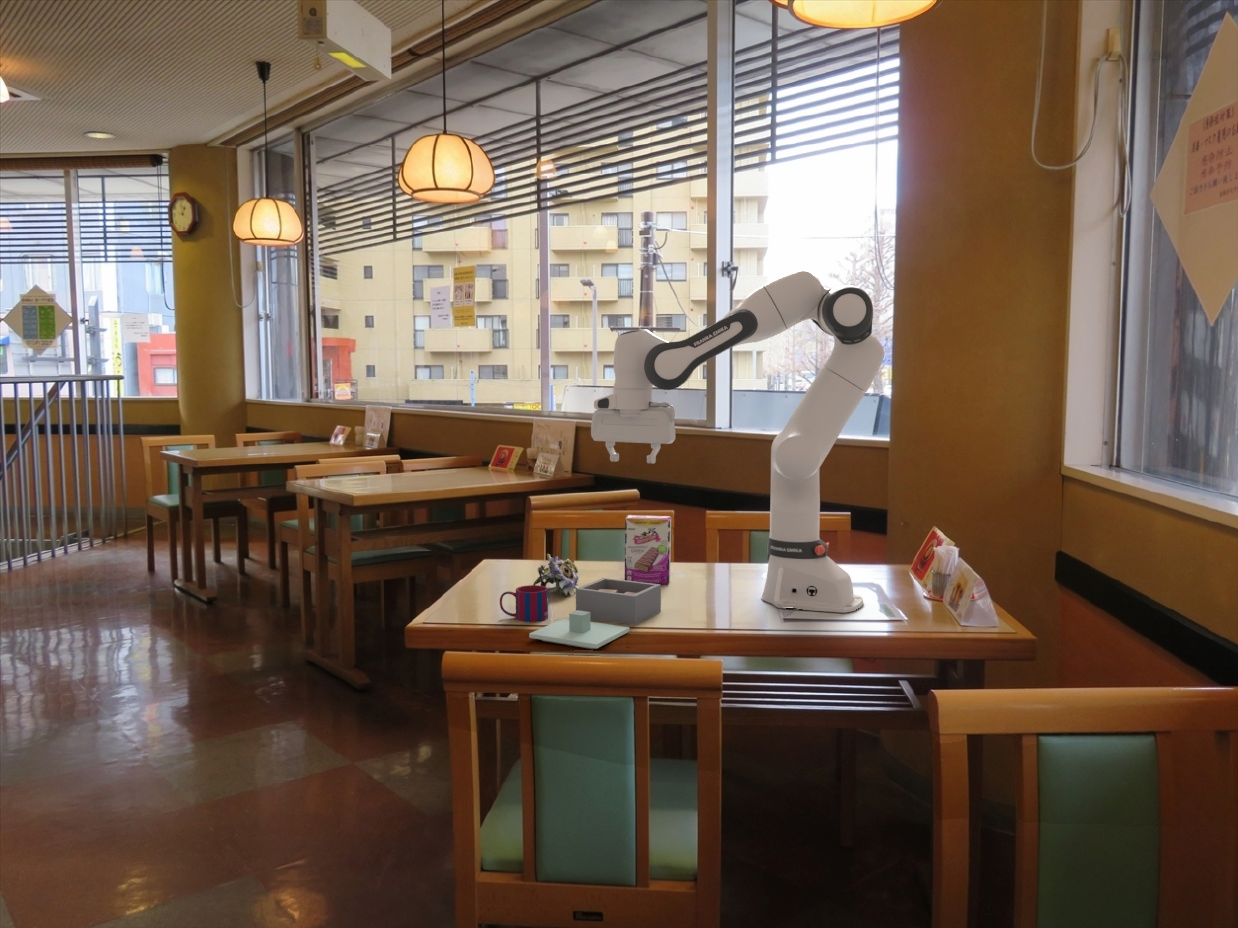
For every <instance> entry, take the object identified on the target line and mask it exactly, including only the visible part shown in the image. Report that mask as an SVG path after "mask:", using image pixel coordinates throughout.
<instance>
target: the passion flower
mask: <svg viewBox="0 0 1238 928" xmlns="http://www.w3.org/2000/svg"><path fill="white" fill-rule="evenodd" d="M546 557H547V561H548V567H546V565H544V564H541V565H540V567H539V566H538V568H537V573H538V574H539V577H537V579H535V580H534V581H533V584H532V585H538V584H540V585H539V586H545V587H547V584H549V583H550V584H552V585H553V584H555V588H556V590H558V591H560V593H561V595H563V596H564V597H565V598H566V597H567V596H574V595H575V591H574V589H575V590H576V589H577V588H579V585H578V581H579V575H577V574H578V573H579V571H578V570H579V569H578V566H577V565H576V564H575V559H573V558H572V559H571V560H570V558H567V559H565V560H564V558H563V559H560V558H559V557H558V556H554V557H551V554H549V553H547V554H546ZM545 567H546V568H545ZM544 580H545V581H544Z"/></svg>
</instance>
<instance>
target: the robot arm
mask: <svg viewBox="0 0 1238 928" xmlns="http://www.w3.org/2000/svg"><path fill="white" fill-rule="evenodd" d="M873 319H874V306H873V301H872V299H871V297H870V296H869V294H868V293H867V292H866V291H865V290H864V289H863V288H861V287H860V286H859V287H858V286H855V285H849V284H847V285H846V284H845V285H841V286H836V287H834V288H826V287H825V286H823V284H822V283H821V281H820V280H819V278H818V277H817V276H816V275H815V274H814V273H813V272H811V271H809V270H807V269H799V270H795V271H792V272H789V273H786V274H784V275H782V276H779V277H777V278H775V279H773V280H771V281H769V282H766V283H765V284H763V285H762V286H760V287H758V288H756V289H755V290H754V291H752V292H750V293H749V294H748V295H746V296H745V297H743V299H742V300H740V301H739V302H738V303H737V304H736V305H735V306H734V307H732V309H730V310H729V311H728V313H726V314H725V315H724V316H723V317H722V318H720V319H719V320H717V322H714V323H713V324H710V325H709V326H707V327H705V328H703V329H702V330H700V331H698V332H696V333H695V334H693V335H691V336H689V337H687V338H685V339H682V340H679V341H667V340H665V339H662V338H661V337H659V336H658V335H656V334H654V333H652V332H651V331H650V330H649V329H647V328H645V329H644V328H641V329H633V330H628V331H625V332H622V333H621V334H619V335H618V337H617V338H616V339H615V344H614V350H613V373H614V377H615V378H614V384H613V393H612V394H609V395H606V396H604V397H600V398H597V399H595V400H594V401H593V407H594V409H595V410H594V411H593V413H592V416H591V423H590V425H591V426H590V436H591V438H592V439H593V441H595V442H605V448H606V449H607V452H608V454H609V461H610V462H619V460H620V453H619V452H617V451H616V450H615V448H614V446H616V443H617V442H618V443H634V444H635V443H637V444H650V449H652V450H651V453H650V454H648V455H646V463H647V464H655V463H656V461H657V457H656V456H657V455H658V454H659V452H660V449H661V447H662V446H661V444H664V445H669V444H673V442H675V440H676V426H675V418H676V417H675V415H676V414H675V412H676V411H675V410H676V409H675V408H674V406H673V405H671V404H670V403H669V402H666V401H664V402H658V401H653V386H654V387H656V388H657V389H660V390H662V391H663V390H664V391H666V390H667V391H670V390H674V389H678V388H679V387H681V386H682V385H684V384H685V383H687V382H688V381H689V379H690V378H691V377H692V375H693V372H694V371H695V370H696V369H697V368H698V367H699V366H701V365H703V364H704V363H706V362H707V361H709V360H711V359H713V358H714V357H717V356H719V355H720V354H722V353H723V352H725V351H728V350H729V349H732V348H733V347H736V346H741V345H744V344H751V343H758V342H761V341H764V340H768V339H771V338H772V337H774V336H777V335H780V334H781V333H783V332H785V331H786V330H790V329H791V327H794V326H796V325H797V324H799V323H802V322H804V321H807V320H811V321H812V322H813V323H814V324H815V325H816V326H817V327H818V328H819V329H820V330H821V331H822V332H823V333H825V334H827V335H829V336H831V337H833V339H834V342H833V343H834V345H833V348H832V351H831V354H830V356H828V359H827V360H826V361H825V363H824V364H823V366H822V367H821V369H820V370H819V372H818V373H817V375H816V377H815V378H814V379H813V381H812V383H811V384H810V385H809V387H808V389H807V390H806V391H805V394H804V395H803V396H802V399H801V400H800V402H799V403H798V405H797V406H796V409H795V410H794V412H793V413H792V415H791V417H790V418H789V420H788V421H787V423H786V425H785V426H784V427H783V430H782V431H780V432H779V433H778V434H777V435H776V437H774V439H773V441H772V442H771V443H772V444H771V448H770V497H769V498H770V500H769V501H770V502H769V503H770V507H769V508H770V509H769V536H768V537H767V544H766V545H767V546H766V556H767V561H768V563H767V564H768V565H767V571H766V578H765V584H764V588H763V591H762V595H761V599H762V601H765V602H766V603H769V604H772V605H773V606H774V607H775V608H778V609H784V608H783V607H793V608H797V609H796V610H799V609H803V610H802V611H814V612H815V611H816V612H827V613H828V612H830V613H850V612H854V611H857V610H859V609H860V608H861V607H862V606H863V605H864V598H863V597H862V596H861V595H858V594H854V588H853V581H852V578H851V576H850V574H849V573H848V572H847V571H846V570H844V569H843V568H842V567H841V566H840V565H838V563H836V561H834V560H833V559H832V558H830V557H829V556H828V554H829V553H828V551H829V549H828V548H829V547H830V546H829V545H830V542H829V541H828V542H825V541H824V540H823V539H821V538H820V520H821V518H820V517H821V514H820V513H821V512H820V510H821V497H820V496H821V495H820V491H821V487H820V486H821V485H820V468H821V466H822V465H823V463H824V461H825V459H826V458H827V456H828V455H829V453H830V452H831V450H832V448H833V447H834V444H835V443H836V441H837V439H838V438H839V436H840V435H841V433H842V431H843V429H844V427H845V426H846V424H847V422H848V420H849V419H850V417H851V416H852V414H853V413H854V412H855V410H856V409H857V407H858V405H859V404H860V402H861V401H862V399H863V398H864V396H865V395H866V393H867V392H868V390H869V388H871V386H872V383H874V379H875V378H876V377H877V374H878V373H879V370H880V368H881V366H882V363H883V360H884V358H885V349H884V347H883V345H882V343H881V342H880V341H879V340H878V339H877V338H876V337H874V336H873V335H872V334H873ZM858 608H859V609H858ZM856 609H857V610H856Z"/></svg>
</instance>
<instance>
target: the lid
mask: <svg viewBox="0 0 1238 928" xmlns="http://www.w3.org/2000/svg"><path fill="white" fill-rule="evenodd" d="M568 614H569V616H568V617H569V618H568V617H564V618H561V619H559V620H557V621H555V622H552V623H550V624H548V625H546V626H544V627H541V628H539V629H537V630H535V631H532V632H529V635H528V637H529V639H535V640H536V639H537V640H541V641H542V642H547V643H553V644H558V645H559V644H560V645H565V646H572V647H577V648H578V647H579V648H583V649H584V648H585V649H591V650H594V649H595V650H596V649H599V648H601V647H602V646H604V645H607V644H608V643H610V642H612V641H614V640H616V639H618V638H619V637H621V636H624V635H626V634H627V633H630V632H631V629H630V627H629V626H622V625H616V624H609V623H604V622H603V623H602V622H594V621H591V619H590V612H586V611H579V610H577V611H576V610H575V611H572V612H570V613H568Z"/></svg>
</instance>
